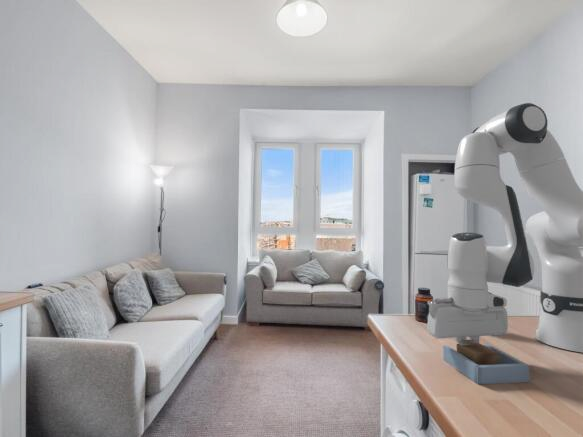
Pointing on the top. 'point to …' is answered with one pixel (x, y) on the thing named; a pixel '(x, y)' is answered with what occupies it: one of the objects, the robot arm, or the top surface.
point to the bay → (489, 367)
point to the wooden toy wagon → (477, 352)
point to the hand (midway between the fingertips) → (467, 353)
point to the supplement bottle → (422, 304)
